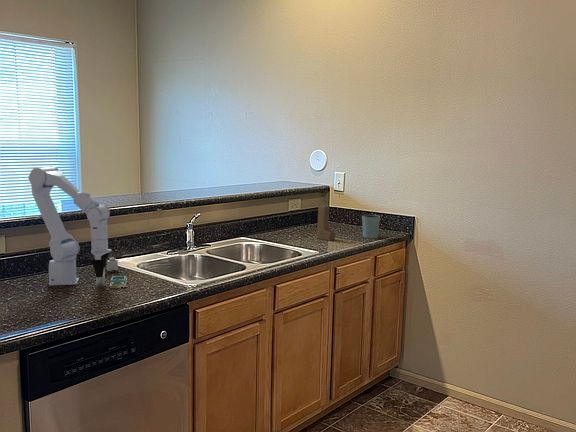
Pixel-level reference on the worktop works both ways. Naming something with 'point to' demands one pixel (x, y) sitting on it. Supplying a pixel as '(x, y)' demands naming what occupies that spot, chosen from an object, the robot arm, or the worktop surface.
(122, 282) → the pin board
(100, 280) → the pin
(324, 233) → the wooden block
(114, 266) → the grey lever block
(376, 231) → the drinking glass
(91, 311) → the worktop surface
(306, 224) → the worktop surface
